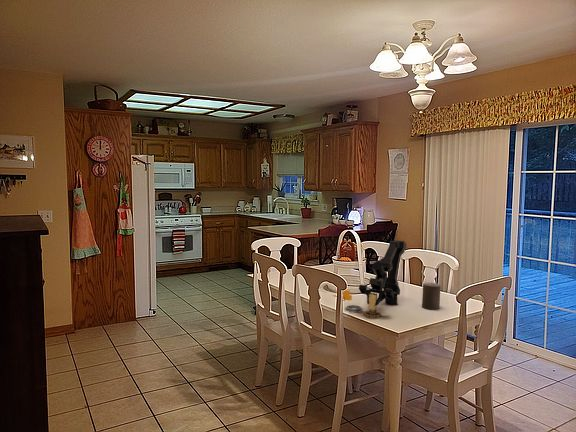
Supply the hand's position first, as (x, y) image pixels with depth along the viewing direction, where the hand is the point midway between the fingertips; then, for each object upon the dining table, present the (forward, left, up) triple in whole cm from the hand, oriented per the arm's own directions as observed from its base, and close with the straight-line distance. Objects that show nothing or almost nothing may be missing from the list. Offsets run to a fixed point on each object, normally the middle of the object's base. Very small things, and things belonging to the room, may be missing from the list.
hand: (371, 304), depth 231 cm
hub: (+9, -11, -7) cm, 16 cm away
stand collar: (-1, -1, -7) cm, 7 cm away
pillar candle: (-35, -24, -7) cm, 43 cm away
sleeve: (-1, -1, -7) cm, 7 cm away
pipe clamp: (+16, -35, -7) cm, 40 cm away
